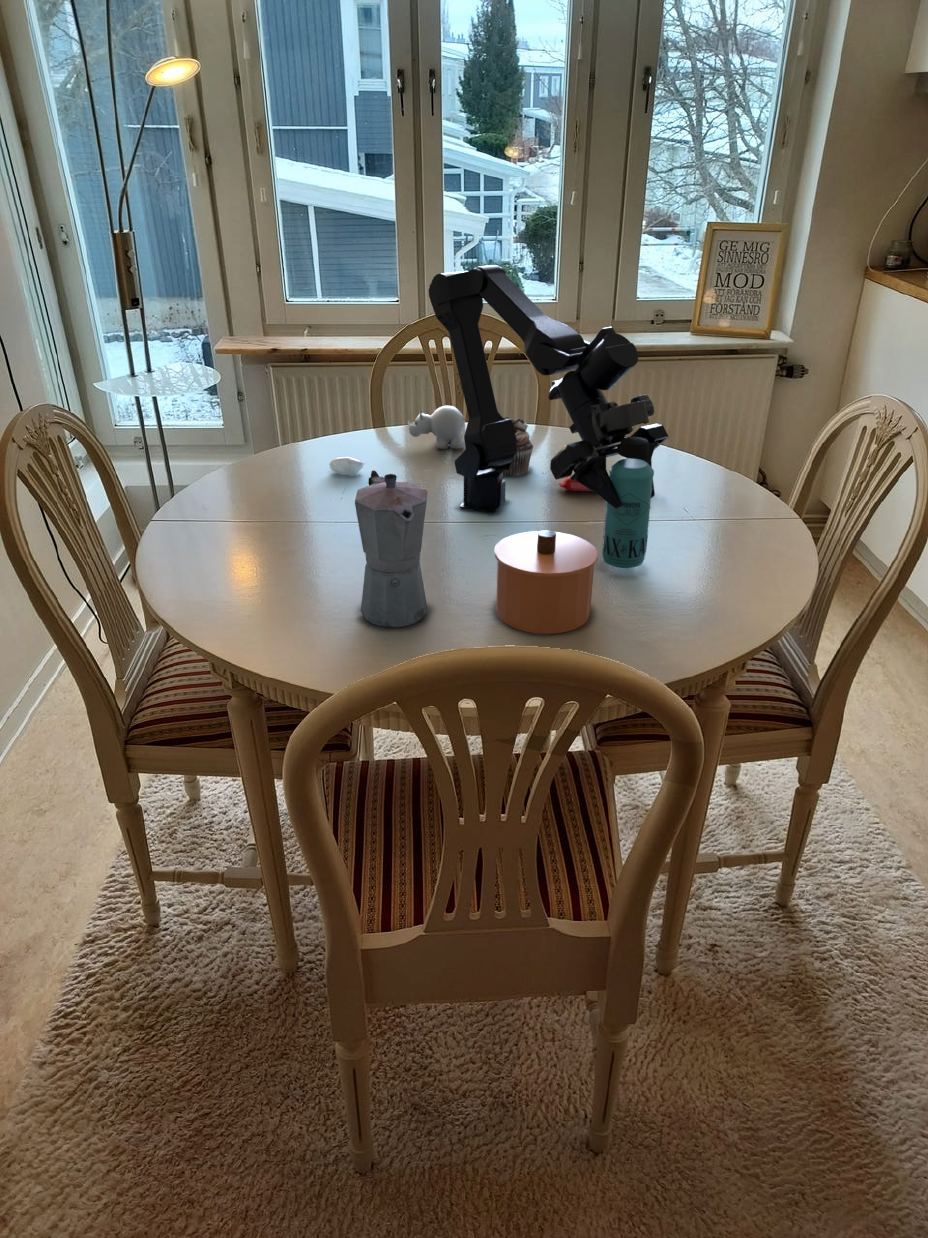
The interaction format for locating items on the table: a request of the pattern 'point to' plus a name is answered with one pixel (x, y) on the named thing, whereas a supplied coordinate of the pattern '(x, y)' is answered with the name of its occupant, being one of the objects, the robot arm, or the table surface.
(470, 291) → the robot arm
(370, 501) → the moka pot
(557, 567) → the pot lid
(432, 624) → the table surface
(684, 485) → the table surface
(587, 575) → the pot
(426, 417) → the toy rhinoceros
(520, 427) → the cupcake
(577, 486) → the candy bar
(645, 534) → the beverage bottle
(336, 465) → the dumpling
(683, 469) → the table surface
